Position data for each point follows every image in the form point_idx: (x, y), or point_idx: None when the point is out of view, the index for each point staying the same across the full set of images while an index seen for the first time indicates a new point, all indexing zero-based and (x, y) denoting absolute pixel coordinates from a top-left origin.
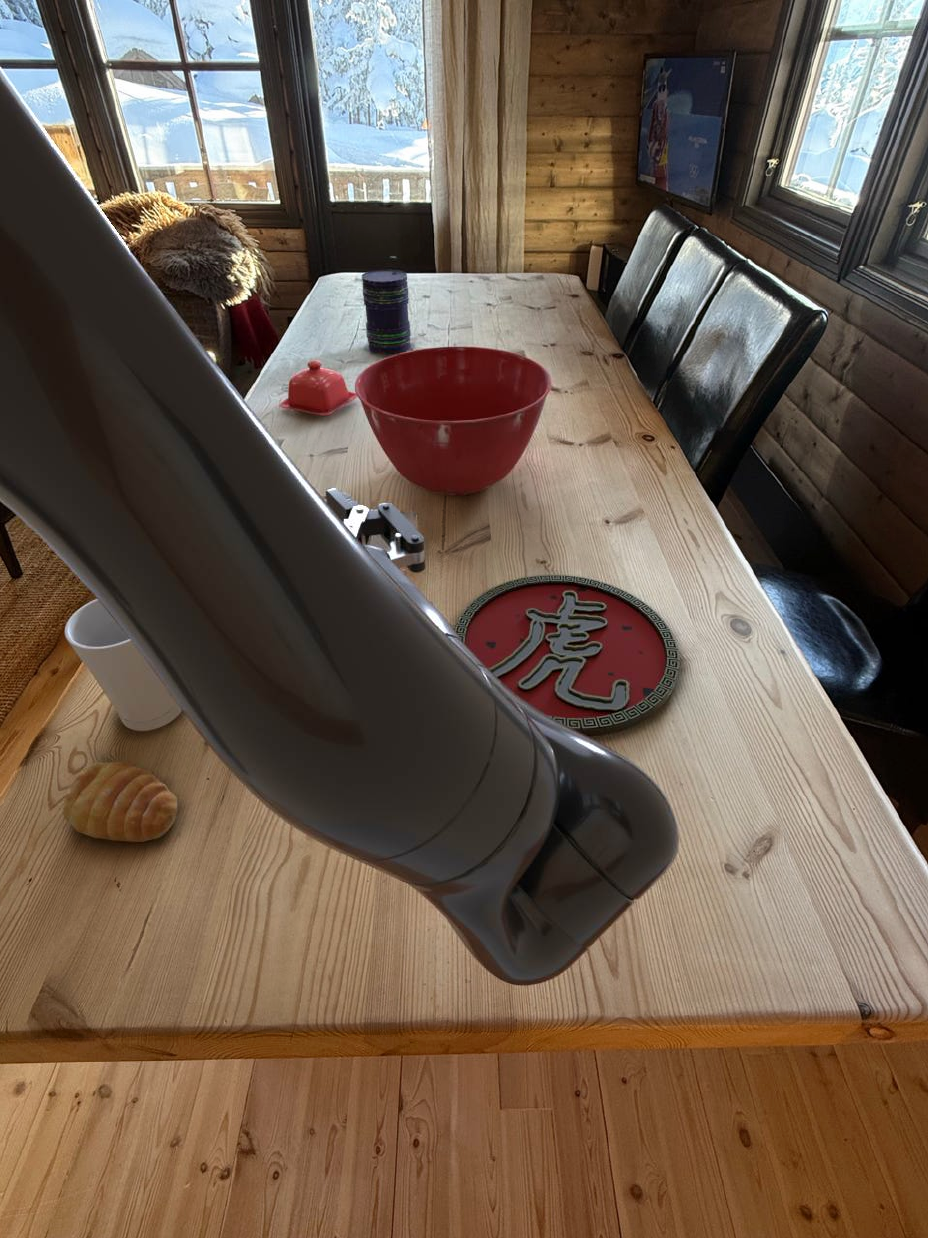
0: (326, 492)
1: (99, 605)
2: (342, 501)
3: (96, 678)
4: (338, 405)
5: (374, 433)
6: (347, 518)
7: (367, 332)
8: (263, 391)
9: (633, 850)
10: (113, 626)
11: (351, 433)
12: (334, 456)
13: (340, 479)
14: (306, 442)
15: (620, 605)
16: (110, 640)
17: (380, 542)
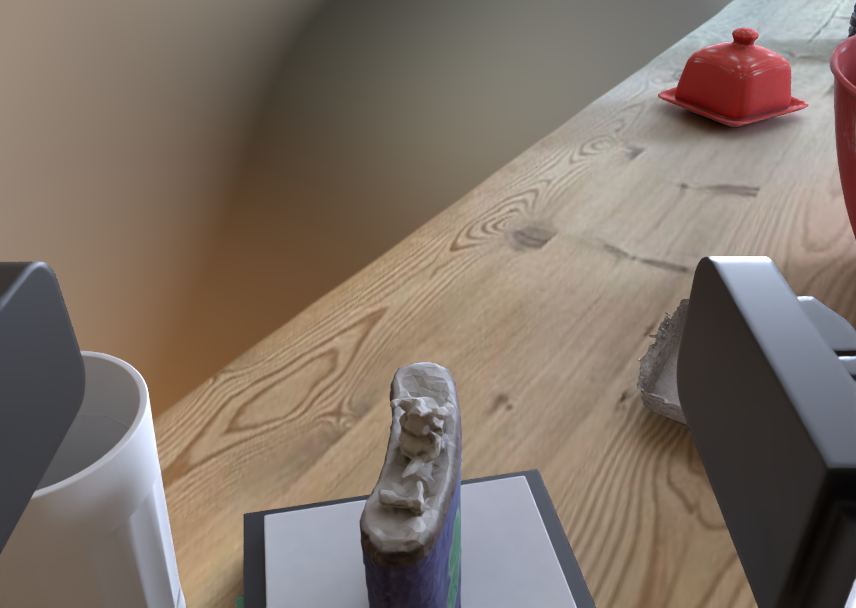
0: (702, 268)
1: None
2: (807, 372)
3: None
4: (764, 114)
5: (841, 164)
6: (810, 529)
7: (853, 15)
8: (641, 73)
9: None
10: (78, 423)
11: (774, 165)
12: (727, 197)
13: (725, 242)
14: (682, 162)
15: None
16: (65, 450)
17: None
